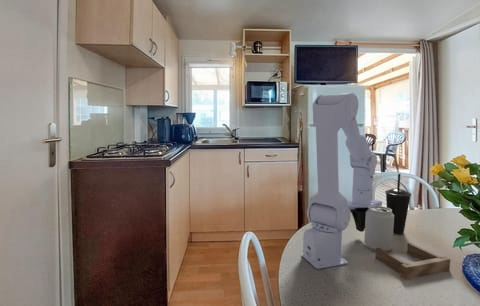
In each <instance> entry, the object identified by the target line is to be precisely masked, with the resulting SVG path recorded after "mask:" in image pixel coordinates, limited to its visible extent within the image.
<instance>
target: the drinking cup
mask: <svg viewBox="0 0 480 306" xmlns="http://www.w3.org/2000/svg"><path fill="white" fill-rule="evenodd" d="M400 187H401V173H397V187H396V188H390V189H388V190H387V189H386V190H385V196H386V197H385V200H386V207H387V208H390V209H391V210H392V213H393V214H394V228H393V235H399V236H400V235H403V234H404V232H405V228H406V222H407V216H408V212H409V205H410V201H411V196H412V193H411V192H409V191H407V190H405V189H402V188H400Z"/></svg>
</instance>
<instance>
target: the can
mask: <svg viewBox="0 0 480 306" xmlns="http://www.w3.org/2000/svg"><path fill="white" fill-rule="evenodd" d="M368 208H369V209H368V210H367V211H366V219H365V230H364V238H363V239H364V240H363V241H364V245H365V246H366V247H367V248H368V249H369V250H370V251H371V250H372V251H374V252H376V248H381V249H382V250H384V251H386V252H389V251H390V250H392V249H393V242H394V241H393V239H394V234H393V228H394V214H393V213H392V210H391V209H390V208H387V206H383V205H382V206H370V207H368Z"/></svg>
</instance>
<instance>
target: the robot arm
mask: <svg viewBox="0 0 480 306" xmlns="http://www.w3.org/2000/svg"><path fill="white" fill-rule="evenodd" d="M358 111H359V99H358V96H357V95H356V94H355V93H354V92H353V91H352V92H347V93H346V92H345V93H335V94H319V95H317V96H316V98H315V99H314V101H313V103H312V123H313V124H312V125H313V126H314V127H315V138H316V139H315V140H316V141H315V142H316V146H315V147H316V170H317V172H316V173H317V191H316V192H315V193H313V194H312V195H311V196H309V198H308V206H307V210H306V215H307V219H308V221H309V222H310V223H311V225H310V226H311V228H308V229H306V230H305V231H304V232H303V240H302V241H303V244H302V253H301V257H303V258H304V259H305V260H306V261H308V262H309V263H310V264H311V265H312V266H313V267H314V268H315V269H318V270H319V269H324V268H326V269H327V268H330V267H337V266H341V265H343V266H344V265H348V264H349V261H348V260H346V259H345V258H343V257H342V241H343V240H342V237H343V235H342V234H343V231H344V230H346V229H347V228H348V226H349V224H350V222H351V214H352V217H353V218H352V219H353V220H354V224H355V229H356V231H358V232H360V233H361V232H365V219H366V211H367V210H368V209H369V208H368V207H370V206H383V200H379V199H372V198H373V197H372V196H373V181H374V176H375V173H376V169H377V164H378V157H377V156H378V155H377V154H376V153H374V151H372V150H371V148H370V146H369V143H368V140H367V138H366V136H365V134H363V133H361V132H360V128H359V125H358V120H357V114H358ZM340 129H341V130H342V131H343V133H344V135H345V137H346V139H345V146H346V148H347V150H348V152H349V163H350V164H349V165H350V167H351V168H353V170H352V171H353V173H352V192H351V195H352V196H351V200H350V201H349V200H348V199H347V198H346V197H345V196H344V195H343V194H342V193H341V192H340V190H339V188H340V187H339V186H340V185H339V146H338V145H339V144H338V142H339V140H338V138H339V137H338V133H339V131H340Z"/></svg>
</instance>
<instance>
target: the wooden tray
mask: <svg viewBox="0 0 480 306" xmlns="http://www.w3.org/2000/svg"><path fill="white" fill-rule="evenodd" d="M406 254H408V255H409V256H410V257H413V258H416V260H417V259H418V261H413V262H409V263H408V262H406V261H404V260H403V259H401V258H399V257H397V256H395V255H393V254H391V253H389V251H387V252H386V251H384V250H382V249H381V248H376V251H375V258H374V259H375V260H377V261H378V262H380V263H382V264H383V265H385V266H387V268H390V269H392V270H393V271H395V272H396V273H398V274H400V276H399V277H400V278H401V279H404V280H406V281H407V280H410V279H417V278H420V277H425V276H430V275H435V274H441V273H444V272H445V273H446V272H449V271H450V269H451V258H449V257H447V256H440V255H439V254H436V253H434V252H431V251H429V250H427V249H425V248H423V247H420V246H418V245H416V244H414V243H412V242H408V243H407V247H406Z"/></svg>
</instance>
